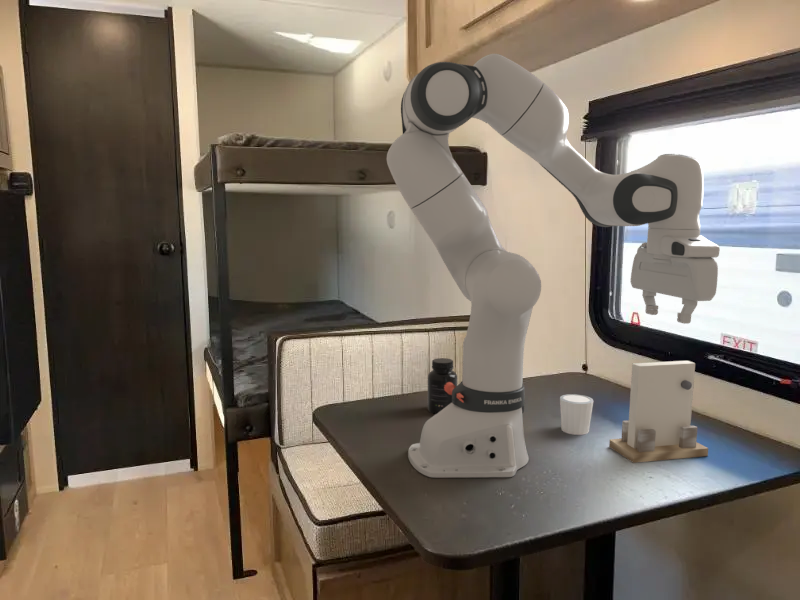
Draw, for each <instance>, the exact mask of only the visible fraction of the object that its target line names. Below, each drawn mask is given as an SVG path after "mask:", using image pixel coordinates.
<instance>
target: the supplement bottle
mask: <svg viewBox="0 0 800 600" xmlns="http://www.w3.org/2000/svg"><path fill="white" fill-rule="evenodd" d="M431 369H432V370H430V371H429V373H428V375H427V410H428V411H429V412H430V413H431V414H434V415H436V414H437V413H438V412H440V411H441V410H442V409H444V408H445V407H446V406H448V405H449V404H450V403H452V395H450V394H448V393H447V392H446V391H445V390H444V389H445V388H444V387H445V386H444V385H446V383H448V382H451V383H453V385H455V386H457V385H458V374H457V373H456V372H455V371H454V360H453V359H452V358H445V357H443V358H442V357H438V358H434V359H432V361H431Z"/></svg>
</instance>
